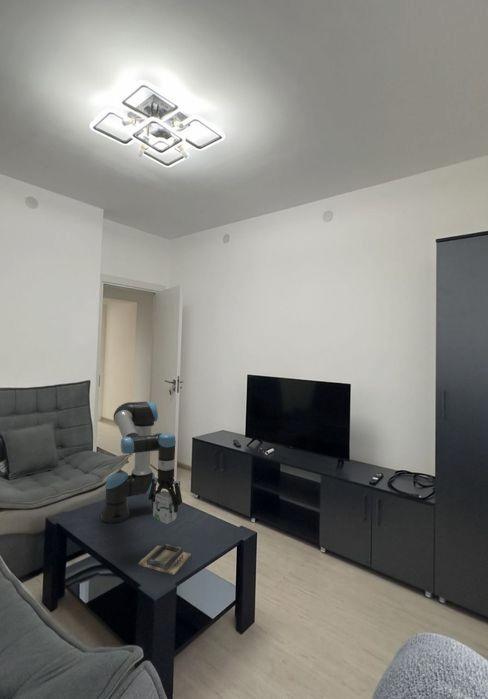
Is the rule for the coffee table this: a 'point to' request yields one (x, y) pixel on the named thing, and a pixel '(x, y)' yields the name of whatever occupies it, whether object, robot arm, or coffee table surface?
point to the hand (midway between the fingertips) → (164, 517)
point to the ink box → (163, 507)
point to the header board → (165, 559)
